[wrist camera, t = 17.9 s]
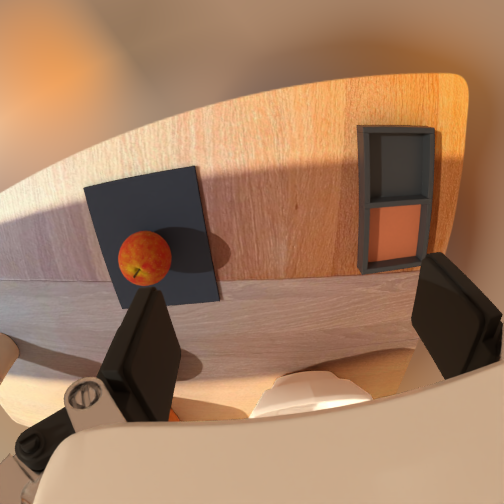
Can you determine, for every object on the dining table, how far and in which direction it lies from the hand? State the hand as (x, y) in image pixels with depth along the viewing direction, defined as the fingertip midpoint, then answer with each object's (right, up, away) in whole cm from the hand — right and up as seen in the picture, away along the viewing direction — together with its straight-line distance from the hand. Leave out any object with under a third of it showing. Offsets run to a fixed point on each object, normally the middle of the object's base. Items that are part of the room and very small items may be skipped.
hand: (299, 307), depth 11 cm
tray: (+18, +9, +30) cm, 36 cm away
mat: (-15, +3, +32) cm, 36 cm away
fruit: (-15, +3, +32) cm, 35 cm away
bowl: (+8, -24, +46) cm, 53 cm away
